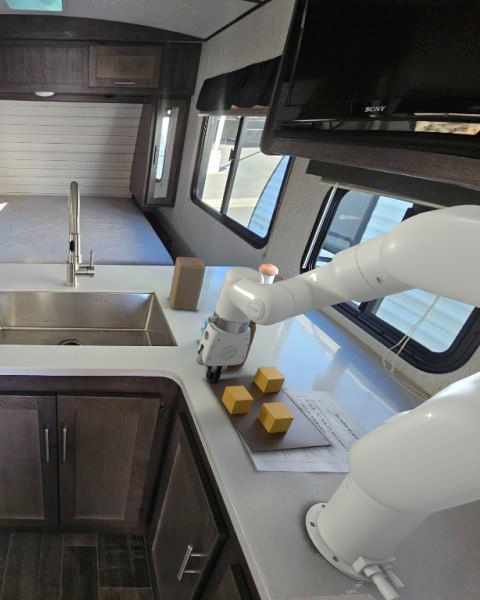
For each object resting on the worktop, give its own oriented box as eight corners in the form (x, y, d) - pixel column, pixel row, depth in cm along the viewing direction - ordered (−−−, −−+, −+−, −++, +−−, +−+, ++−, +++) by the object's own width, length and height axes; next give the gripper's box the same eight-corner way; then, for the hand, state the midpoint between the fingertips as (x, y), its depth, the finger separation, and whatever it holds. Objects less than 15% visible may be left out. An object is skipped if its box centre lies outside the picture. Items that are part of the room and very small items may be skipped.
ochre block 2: (279, 391, 92) (285, 378, 90) (263, 392, 92) (268, 379, 89) (268, 379, 97) (274, 366, 94) (253, 380, 96) (258, 367, 94)
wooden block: (191, 299, 140) (201, 257, 130) (196, 311, 131) (207, 266, 122) (168, 298, 141) (176, 255, 131) (172, 309, 132) (180, 265, 122)
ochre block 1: (248, 412, 85) (253, 399, 83) (230, 414, 85) (235, 400, 82) (238, 398, 90) (243, 385, 87) (221, 399, 89) (225, 386, 87)
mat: (330, 445, 77) (330, 444, 77) (252, 452, 75) (253, 451, 75) (268, 376, 98) (268, 375, 98) (206, 380, 96) (206, 379, 96)
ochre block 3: (287, 431, 80) (294, 417, 78) (269, 433, 80) (275, 419, 77) (274, 415, 85) (280, 402, 82) (257, 416, 84) (262, 403, 82)
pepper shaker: (262, 301, 140) (276, 260, 130) (269, 310, 133) (284, 267, 124) (244, 300, 140) (257, 259, 131) (250, 309, 134) (264, 266, 125)
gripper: (206, 331, 69) (189, 393, 78) (271, 328, 70) (247, 389, 79) (192, 313, 75) (178, 371, 84) (251, 310, 77) (231, 368, 86)
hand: (211, 380), depth 82 cm, fingers closed
